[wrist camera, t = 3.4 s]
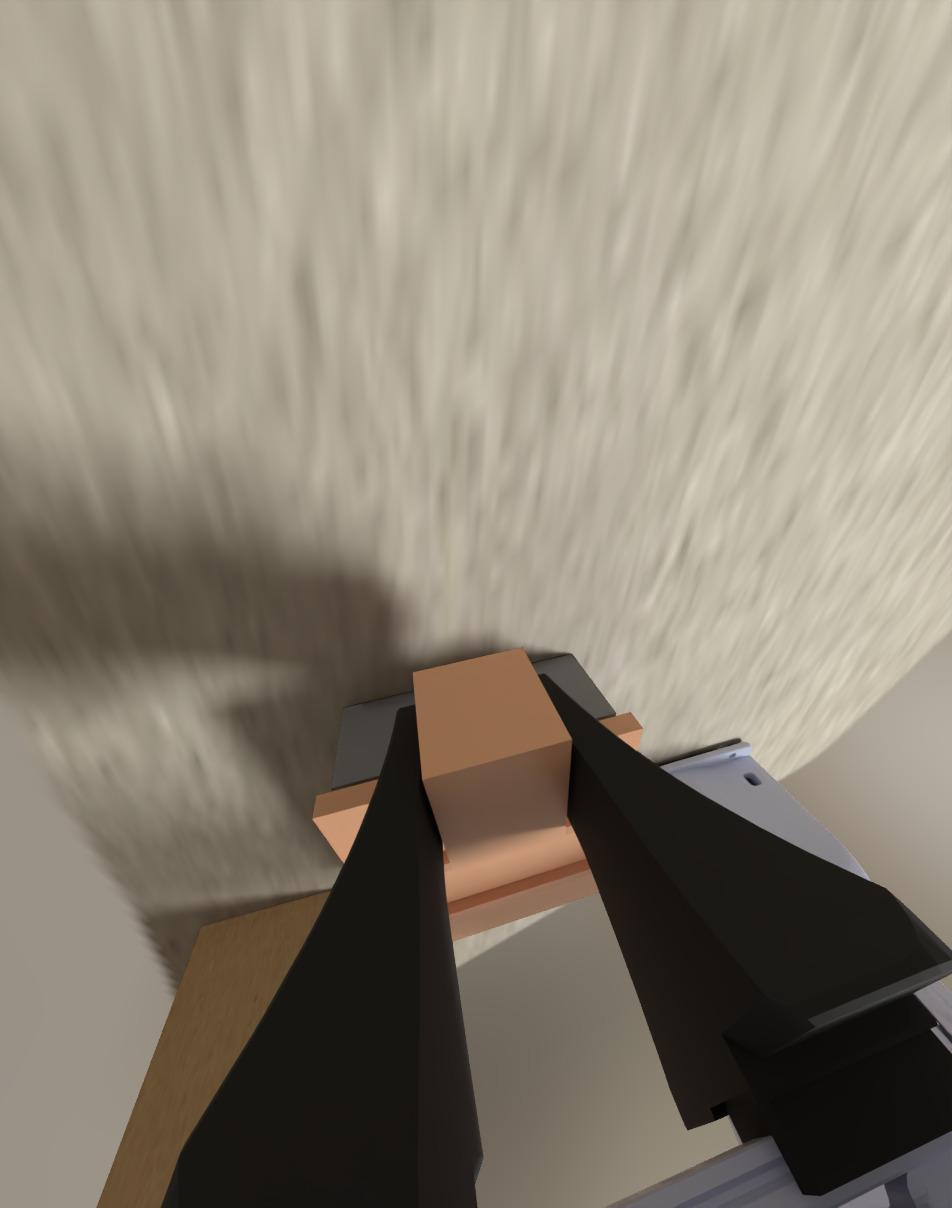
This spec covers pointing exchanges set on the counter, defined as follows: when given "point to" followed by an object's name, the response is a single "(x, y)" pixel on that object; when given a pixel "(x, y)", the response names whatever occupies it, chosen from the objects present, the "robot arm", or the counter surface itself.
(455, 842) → the lid
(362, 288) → the counter surface
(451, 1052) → the robot arm
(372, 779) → the tub
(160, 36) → the counter surface
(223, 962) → the sandwich container
